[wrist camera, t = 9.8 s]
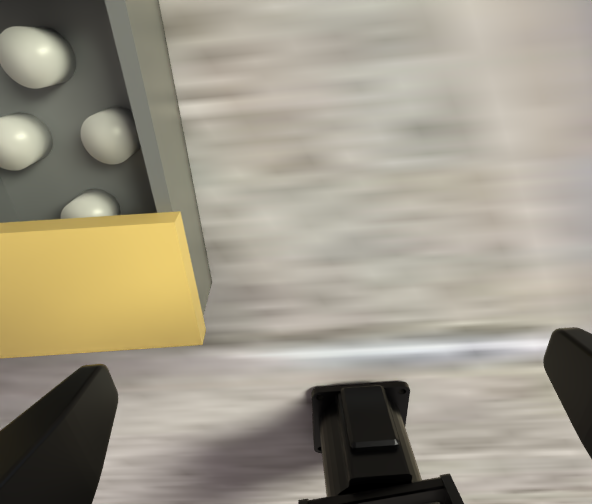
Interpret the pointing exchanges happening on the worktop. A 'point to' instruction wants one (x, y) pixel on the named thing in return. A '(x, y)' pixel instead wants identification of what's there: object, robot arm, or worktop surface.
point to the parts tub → (94, 184)
